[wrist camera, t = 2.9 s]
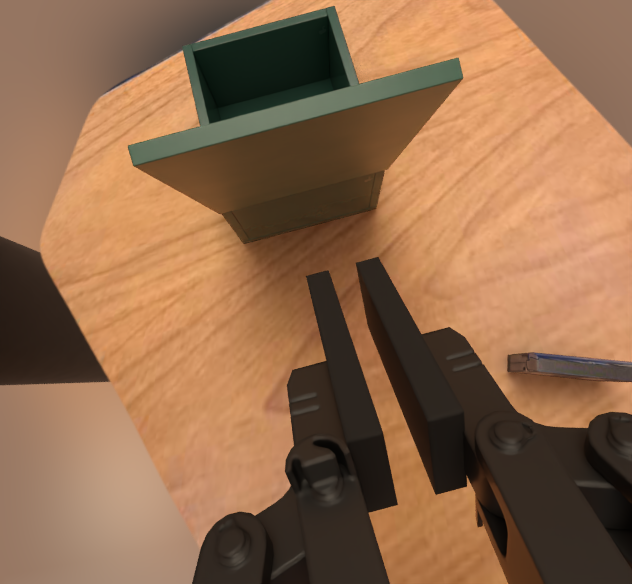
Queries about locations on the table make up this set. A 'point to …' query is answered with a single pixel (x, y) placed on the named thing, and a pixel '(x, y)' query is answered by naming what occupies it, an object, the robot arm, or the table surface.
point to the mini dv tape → (570, 367)
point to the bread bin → (276, 89)
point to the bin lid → (299, 141)
